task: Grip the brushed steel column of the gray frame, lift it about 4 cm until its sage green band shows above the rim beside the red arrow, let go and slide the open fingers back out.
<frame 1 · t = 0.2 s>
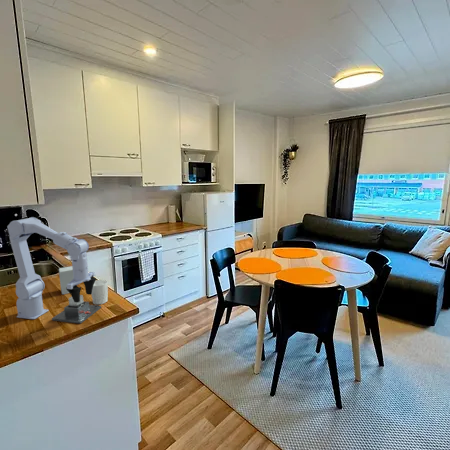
hand: (83, 297, 117), 10 cm above the table, tool pointing down, fingers open, 7 cm apart
gray frame: (77, 313, 123), on the table
white cup: (100, 301, 135), on the table
steel column: (76, 304, 122), point 5 cm above the table, slide at 0.0 cm
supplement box: (69, 291, 147), on the table
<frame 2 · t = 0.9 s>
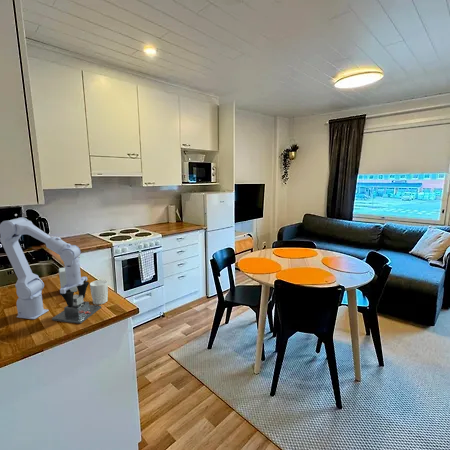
hand: (76, 301, 122), 6 cm above the table, tool pointing down, fingers open, 7 cm apart
nothing on the table moved.
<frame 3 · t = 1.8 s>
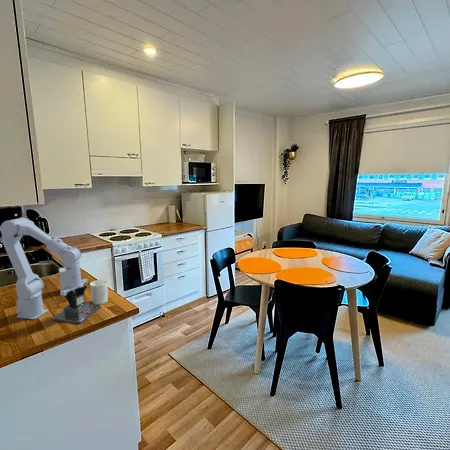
hand: (76, 303, 122), 5 cm above the table, tool pointing down, fingers closed on steel column, 4 cm apart
steel column: (76, 304, 122), point 5 cm above the table, slide at 0.0 cm, touching gripper
everything else where it was.
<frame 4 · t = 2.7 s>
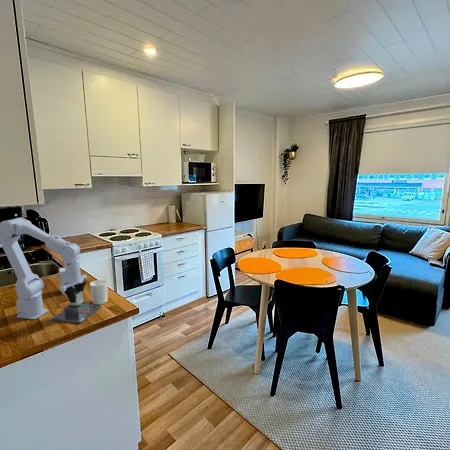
hand: (76, 299, 122), 7 cm above the table, tool pointing down, fingers closed on steel column, 4 cm apart
steel column: (76, 300, 122), point 7 cm above the table, slide at 1.9 cm, touching gripper
everything else where it was.
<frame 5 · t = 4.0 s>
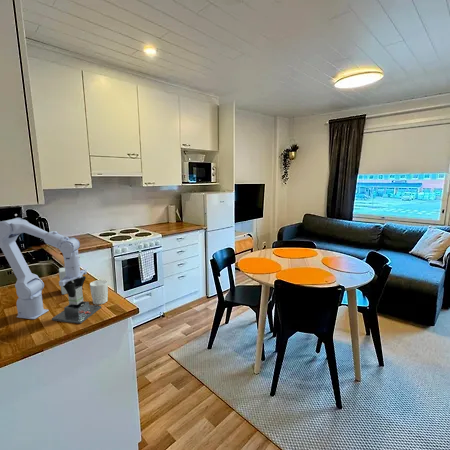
hand: (75, 294, 121), 9 cm above the table, tool pointing down, fingers closed on steel column, 4 cm apart
steel column: (75, 294, 121), point 9 cm above the table, slide at 4.5 cm, touching gripper
everything else where it was.
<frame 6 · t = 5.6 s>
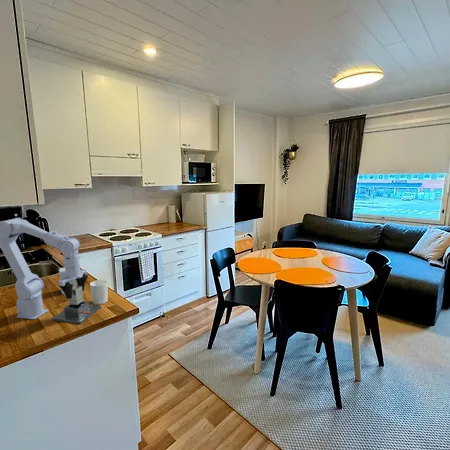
hand: (75, 294, 121), 9 cm above the table, tool pointing down, fingers open, 7 cm apart
steel column: (75, 294, 121), point 9 cm above the table, slide at 4.5 cm
everything else where it was.
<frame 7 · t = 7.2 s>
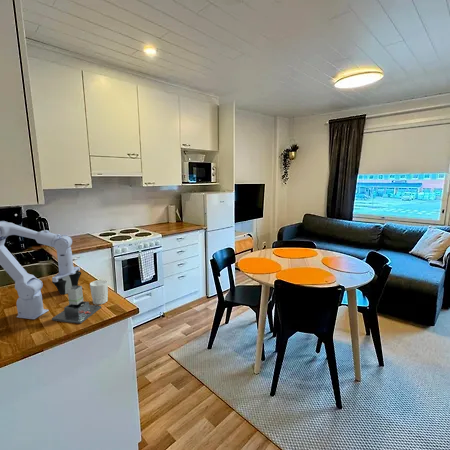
hand: (68, 290, 124), 10 cm above the table, tool pointing down, fingers open, 7 cm apart
nothing on the table moved.
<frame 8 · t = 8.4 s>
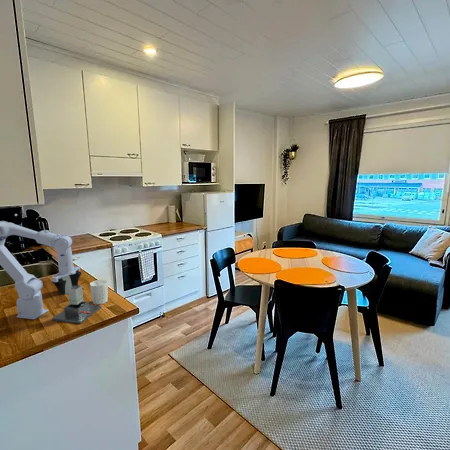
hand: (68, 290, 124), 10 cm above the table, tool pointing down, fingers open, 7 cm apart
nothing on the table moved.
at the end: steel column slide at 4.5 cm; the gripper is holding nothing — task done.
